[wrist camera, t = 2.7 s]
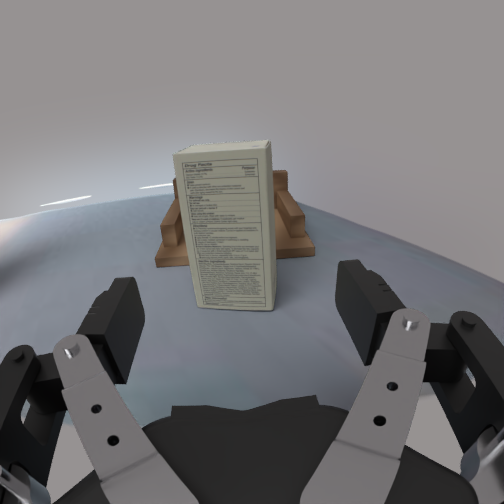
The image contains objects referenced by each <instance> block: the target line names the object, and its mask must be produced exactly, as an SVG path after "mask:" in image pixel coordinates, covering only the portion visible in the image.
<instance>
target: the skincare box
mask: <svg viewBox="0 0 504 504" xmlns="http://www.w3.org/2000/svg"><path fill="white" fill-rule="evenodd" d="M173 161H174V168H175V175H176V183H177V189H178V196H179V203H180V210H181V217H182V223H183V229H184V235H185V241H186V247H187V253H188V258H189V264H190V270H191V275H192V280H193V286H194V291H195V296H196V301H197V306H198V307H200V308H214V309H235V310H268V311H271V310H273V308H274V302H275V295H276V286H277V271H276V241H275V212H274V190H273V171H272V153H271V141H270V140H261V141H240V142H225V143H213V144H199V145H192V146H189V147H187V148H185V149H183V150H180V151H178V152H176V153H173Z"/></svg>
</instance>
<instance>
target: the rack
mask: <svg viewBox="0 0 504 504" xmlns="http://www.w3.org/2000/svg"><path fill="white" fill-rule="evenodd" d="M287 175H288V174H287V171H286V170H278V171H277V170H275V171H273V190H274V212H275V241H276V259H280V258H293V257H306V256H314V255H315V246H314V245H313V243H312V241H311V240H310V238H309V236H308V234H307V233H306V231H305V215H304V213H303V212H302V210H301V209H300V207H299V206H298V204H297V203H296V202H295V200H294V199H293V197H292V196H291V194H290V193H289V192H288V182H287V181H288V176H287ZM173 185H174V194H175V200H174V201H173V203H172V205H171V207H170V209H169V210H168V212H167V214H166V216H165V218H164V220H163V221H162V223H161V225H160V227H161V233H162V239H163V241H162V243H161V246H160V248H159V250H158V252H157V255H156V257H155V262H156V267H168V266H183V265H190V264H189V258H188V253H187V247H186V241H185V235H184V229H183V223H182V217H181V210H180V203H179V196H178V189H177V183H176V178H175V179H174V180H173Z"/></svg>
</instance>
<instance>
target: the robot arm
mask: <svg viewBox="0 0 504 504" xmlns="http://www.w3.org/2000/svg"><path fill="white" fill-rule="evenodd" d="M335 302H336V307H337V310H338V312H339V314H340V316H341V318H342V320H343V322H344V324H345V326H346V328H347V330H348V332H349V334H350V336H351V338H352V340H353V343H354V345H355V347H356V349H357V351H358V353H359V355H360V357H361V359H362V361H363V363H364V366H368V365H371V366H370V368H369V371H368V373H367V375H366V378H365V380H364V382H363V384H362V387H361V389H360V391H359V393H358V395H357V397H356V399H355V402H354V404H353V406H352V408H351V410H350V412H349V411H346V410H344V409H341V408H337V407H333V406H327V405H319V404H318V400H317V397H316V395H312V396H306V397H299V398H291V399H283V400H279V401H276V402H273V403H269V404H266V405H263V406H260V407H256V408H253V409H250V410H245V411H240V410H233V409H226V408H220V407H213V406H207V405H203V406H172V411H171V416H169V417H165V418H162V419H159V420H156V421H154V422H152V423H150V424H148V425H146V426H144V427H143V428H142V429H141V427H140V426H139V424H138V423H137V421H136V420H135V418H134V417H133V415H132V414H131V412H130V411H129V409H128V408H127V406H126V404H125V403H124V401H123V400H122V398H121V396H120V395H119V393H118V391H117V390H116V388H115V384H126V383H127V380H128V376H129V373H130V369H131V366H132V362H133V359H134V356H135V352H136V349H137V346H138V343H139V339H140V336H141V333H142V330H143V327H144V323H145V314H144V308H143V305H142V301H141V298H140V294H139V290H138V287H137V283H136V280H135V278H134V277H125V278H115V279H114V281H113V283H112V285H111V286H110V288H109V290H108V291H104V292H103V293H102V294H100V295H99V296H98V297H97V298H96V299H95V301H94V303H93V304H92V306H91V307H92V308H90V310H89V311H88V314H87V315H86V317H85V318H84V320H83V322H82V324H81V326H80V327H79V329H78V331H77V333H76V334H75V335H70V336H67V337H65V338H63V339H62V340H60V341H59V342H58V343H57V344H56V346H55V347H54V350H53V353H49V354H44V355H39V356H37V355H36V353H35V352H34V350H33V348H32V347H31V346H29V345H20V346H17V347H15V348H13V349H12V350H10V351H9V352H8V353H7V355H6V356H5V358H4V359H3V361H2V363H1V365H0V504H51V500H50V495H49V492H48V490H47V489H46V486H47V481H48V476H49V472H50V468H51V463H52V459H53V455H54V451H55V447H56V444H57V440H58V436H59V433H60V429H61V426H62V422H63V419H64V416H65V413H66V410H68V411H69V413H70V416H71V418H72V421H73V423H74V426H75V428H76V431H77V433H78V435H79V437H80V440H81V442H82V444H83V446H84V448H85V451H86V453H87V455H88V457H89V459H90V461H91V463H92V465H93V467H94V470H93V471H92V472H91V473H90V474H88V475H87V476H86V477H85V478H84V479H82V480H81V481H80V482H79V483H78V484H76V485H75V486H74V487H73V488H72V489H70V490H69V491H68V492H67V493H65V494H64V495H63V496H62V497H61V498H59V499H58V500H57V501H56V502H54V503H53V504H504V346H503V345H502V344H501V342H500V341H499V340H498V339H497V337H496V336H495V335H494V334H493V332H492V331H491V330H490V329H489V328H488V326H487V325H486V324H485V323H484V322H483V320H482V319H481V318H480V317H478V316H477V315H475V314H473V313H471V312H467V311H458V312H456V313H454V314H453V315H452V316H451V319H450V322H449V324H442V323H430V320H429V318H428V317H427V316H426V315H425V314H423V313H422V312H420V311H418V310H415V309H408V308H406V307H405V306H404V304H403V303H402V302H401V301H400V299H399V298H398V297H397V295H396V294H395V293H394V292H393V291H392V289H391V288H390V287H389V285H387V283H386V282H385V280H384V279H383V278H382V277H381V276H380V275H378V274H377V273H375V272H373V271H372V270H368V271H367V270H366V268H365V267H364V266H363V265H362V263H361V262H360V261H359V260H346V261H340V262H339V264H338V271H337V282H336V292H335ZM467 367H468V368H469V369H470V371H471V372H472V374H473V376H474V378H475V381H476V387H474V385H473V384H472V382H471V380H470V379H469V377H468V375H467V374H466V372H465V371H466V369H467ZM422 382H429V383H430V384H431V386H432V388H433V390H434V392H435V394H436V396H437V398H438V400H439V402H440V404H441V406H442V408H443V410H444V412H445V414H446V417H447V419H448V421H449V423H450V425H451V427H452V429H453V431H454V434H455V436H456V438H457V440H458V442H459V445H460V447H461V449H462V451H463V453H464V455H463V457H462V460H461V474H460V475H459V474H458V473H456V472H454V471H452V470H450V469H448V468H446V467H444V466H442V465H441V464H439V463H437V462H435V461H433V460H431V459H429V458H428V457H426V456H424V455H422V454H420V453H419V452H417V451H415V450H413V449H412V448H410V447H408V446H406V445H405V442H406V438H407V436H408V433H409V430H410V426H411V423H412V419H413V416H414V412H415V409H416V405H417V402H418V398H419V394H420V390H421V386H422ZM26 399H27V401H28V402H29V403H30V408H29V410H28V413H27V416H26V418H25V421H24V424H23V423H22V421H21V411H22V408H23V406H24V403H25V401H26Z"/></svg>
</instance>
